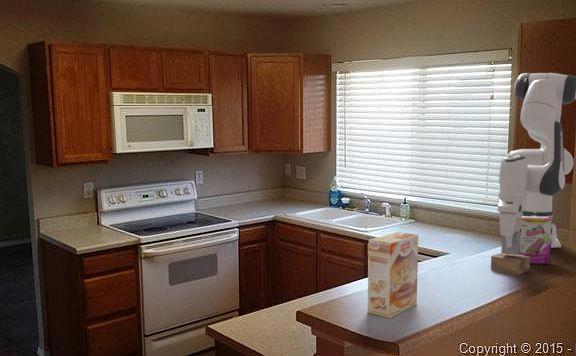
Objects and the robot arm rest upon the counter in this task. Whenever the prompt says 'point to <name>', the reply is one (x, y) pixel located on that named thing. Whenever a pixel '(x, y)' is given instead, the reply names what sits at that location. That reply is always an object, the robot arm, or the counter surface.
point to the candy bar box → (536, 239)
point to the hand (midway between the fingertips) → (511, 245)
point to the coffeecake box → (392, 274)
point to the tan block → (510, 263)
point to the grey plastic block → (516, 245)
